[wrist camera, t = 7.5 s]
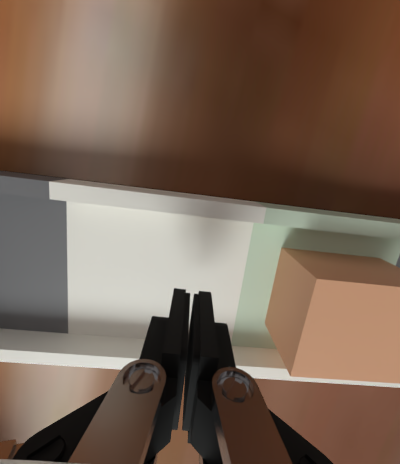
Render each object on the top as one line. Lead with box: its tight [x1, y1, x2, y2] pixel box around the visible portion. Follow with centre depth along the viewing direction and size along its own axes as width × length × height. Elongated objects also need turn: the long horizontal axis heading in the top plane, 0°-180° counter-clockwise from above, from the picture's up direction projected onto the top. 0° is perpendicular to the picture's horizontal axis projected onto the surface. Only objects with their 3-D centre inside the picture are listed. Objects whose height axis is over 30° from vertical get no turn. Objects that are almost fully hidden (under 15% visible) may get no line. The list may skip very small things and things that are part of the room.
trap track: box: [0, 170, 400, 388], centre depth 14 cm, size 30×10×2 cm, turn 83°
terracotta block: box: [265, 248, 400, 384], centre depth 13 cm, size 6×5×4 cm
